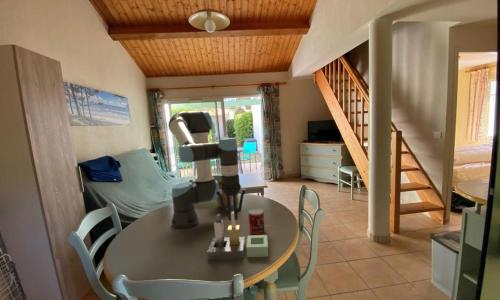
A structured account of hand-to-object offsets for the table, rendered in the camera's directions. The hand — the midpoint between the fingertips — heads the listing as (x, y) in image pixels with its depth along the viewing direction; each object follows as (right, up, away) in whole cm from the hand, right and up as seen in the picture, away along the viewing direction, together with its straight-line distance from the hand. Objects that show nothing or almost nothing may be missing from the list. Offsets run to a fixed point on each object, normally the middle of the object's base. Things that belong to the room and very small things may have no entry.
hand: (233, 226), depth 103 cm
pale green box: (+11, -11, +1) cm, 15 cm away
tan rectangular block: (+1, -10, +1) cm, 11 cm away
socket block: (-3, -11, +2) cm, 12 cm away
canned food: (+11, -9, +19) cm, 24 cm away
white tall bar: (-6, -12, +2) cm, 13 cm away
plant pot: (-10, -5, +60) cm, 61 cm away
